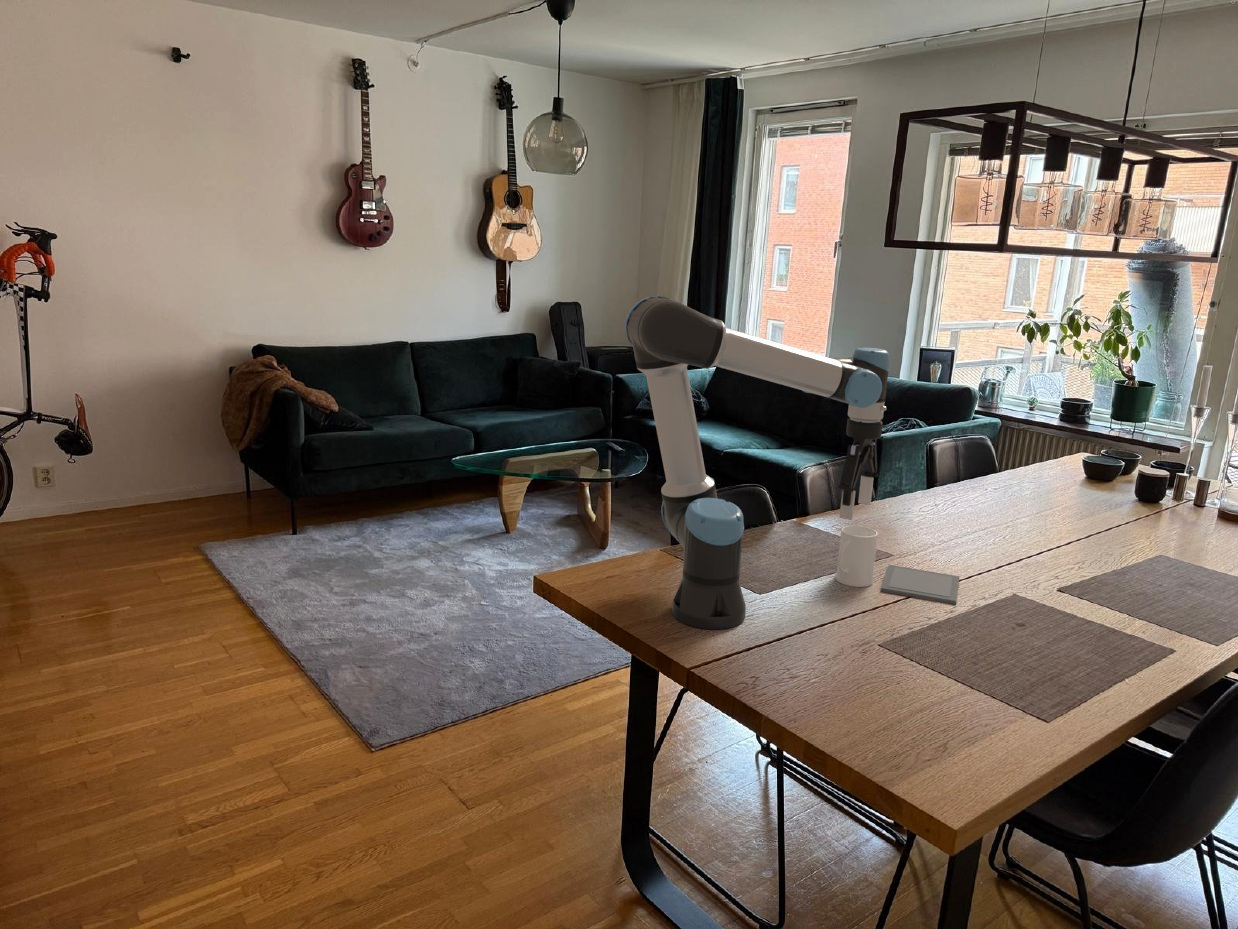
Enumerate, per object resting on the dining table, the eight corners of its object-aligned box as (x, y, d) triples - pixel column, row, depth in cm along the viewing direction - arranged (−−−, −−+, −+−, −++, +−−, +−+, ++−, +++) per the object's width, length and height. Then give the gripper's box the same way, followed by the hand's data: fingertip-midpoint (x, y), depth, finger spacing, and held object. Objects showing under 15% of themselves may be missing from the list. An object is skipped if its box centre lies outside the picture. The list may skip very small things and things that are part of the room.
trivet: (956, 604, 193) (956, 600, 193) (880, 591, 199) (880, 587, 199) (959, 579, 207) (959, 576, 207) (888, 567, 213) (888, 564, 213)
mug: (849, 593, 197) (854, 542, 194) (818, 581, 203) (823, 531, 200) (880, 582, 204) (886, 532, 201) (850, 570, 210) (855, 522, 207)
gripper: (865, 431, 182) (854, 528, 188) (897, 412, 203) (887, 501, 208) (829, 426, 186) (820, 521, 191) (865, 408, 207) (855, 495, 212)
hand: (855, 511), depth 200 cm, fingers open, 13 cm apart
